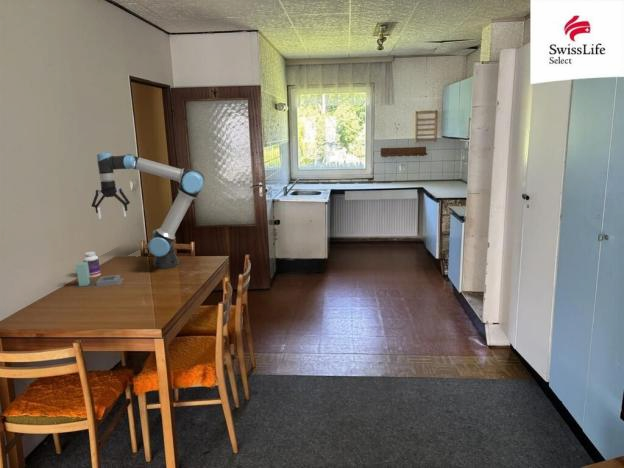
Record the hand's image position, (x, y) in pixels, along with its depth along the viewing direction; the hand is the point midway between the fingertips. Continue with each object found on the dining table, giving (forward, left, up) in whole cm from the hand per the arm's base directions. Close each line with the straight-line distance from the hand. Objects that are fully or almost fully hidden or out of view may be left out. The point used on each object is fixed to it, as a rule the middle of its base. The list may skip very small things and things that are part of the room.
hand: (112, 217), depth 269 cm
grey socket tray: (+4, +15, -35) cm, 38 cm away
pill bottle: (+16, -4, -35) cm, 39 cm away
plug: (+17, +13, -34) cm, 40 cm away
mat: (+17, +13, -35) cm, 41 cm away
